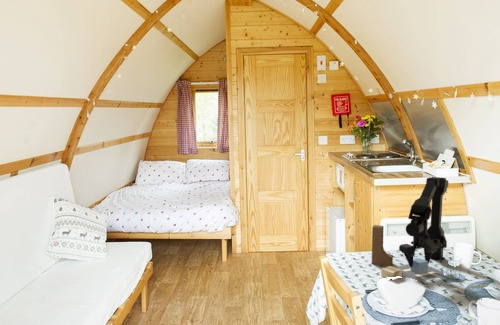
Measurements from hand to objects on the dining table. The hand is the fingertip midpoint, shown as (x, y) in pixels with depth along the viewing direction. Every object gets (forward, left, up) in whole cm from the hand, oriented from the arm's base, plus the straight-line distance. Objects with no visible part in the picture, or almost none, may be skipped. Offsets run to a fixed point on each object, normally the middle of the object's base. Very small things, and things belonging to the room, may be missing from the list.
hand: (419, 265), depth 194 cm
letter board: (0, 0, -3) cm, 3 cm away
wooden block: (+8, -15, -3) cm, 17 cm away
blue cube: (0, 0, -3) cm, 3 cm away
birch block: (+16, 0, -3) cm, 16 cm away
